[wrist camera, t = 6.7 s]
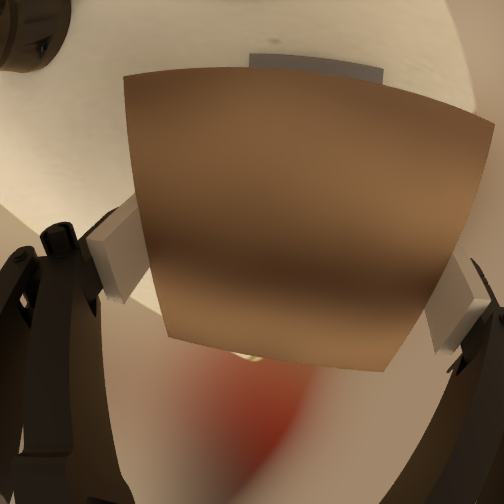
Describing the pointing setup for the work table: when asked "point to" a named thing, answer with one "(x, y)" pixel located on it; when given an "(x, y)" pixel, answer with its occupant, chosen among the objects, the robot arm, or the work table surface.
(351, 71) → the mat
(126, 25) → the work table surface
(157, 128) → the wooden stool
